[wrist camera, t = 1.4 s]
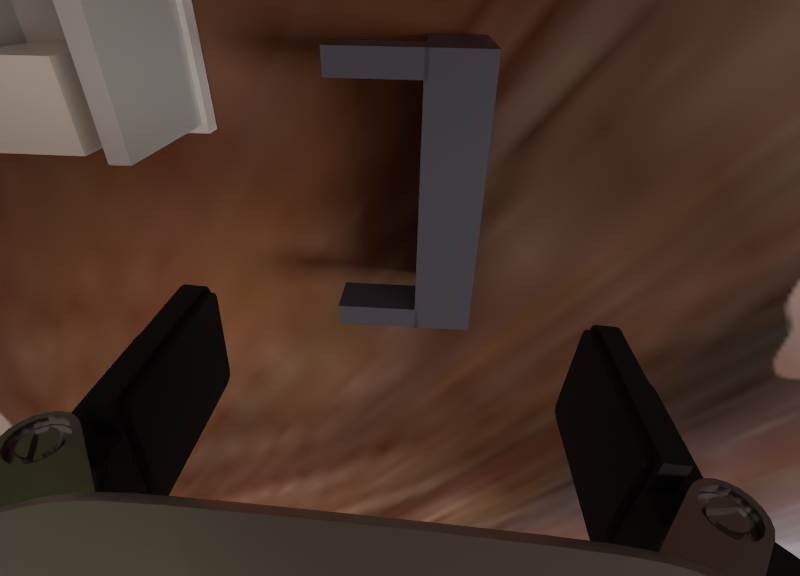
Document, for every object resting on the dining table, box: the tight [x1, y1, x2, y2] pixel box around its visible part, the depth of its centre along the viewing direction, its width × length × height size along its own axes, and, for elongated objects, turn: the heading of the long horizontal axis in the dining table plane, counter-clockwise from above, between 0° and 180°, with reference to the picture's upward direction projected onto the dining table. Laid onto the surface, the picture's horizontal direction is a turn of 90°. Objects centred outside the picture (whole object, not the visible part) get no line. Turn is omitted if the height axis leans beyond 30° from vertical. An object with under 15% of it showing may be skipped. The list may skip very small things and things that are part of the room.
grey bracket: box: [320, 34, 502, 330], centre depth 25 cm, size 7×14×6 cm, turn 179°
